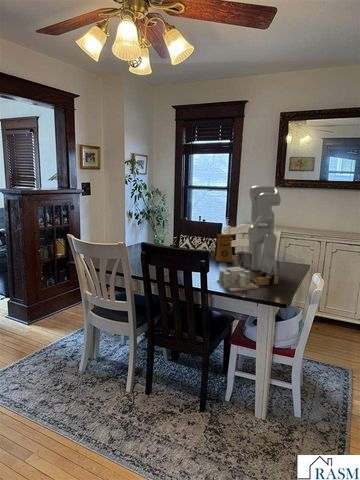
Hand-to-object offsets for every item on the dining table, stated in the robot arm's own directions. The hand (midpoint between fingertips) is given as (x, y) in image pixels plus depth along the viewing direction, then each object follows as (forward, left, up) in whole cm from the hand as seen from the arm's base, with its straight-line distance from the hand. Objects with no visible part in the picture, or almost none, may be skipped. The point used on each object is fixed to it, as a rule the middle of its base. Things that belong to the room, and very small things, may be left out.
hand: (267, 282), depth 204 cm
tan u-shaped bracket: (-5, 0, -1) cm, 6 cm away
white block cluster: (-4, -19, -1) cm, 19 cm away
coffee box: (-19, -6, -1) cm, 20 cm away
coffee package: (-59, 0, -2) cm, 59 cm away
